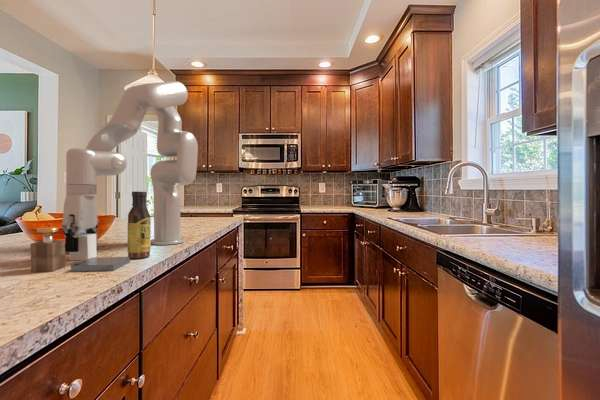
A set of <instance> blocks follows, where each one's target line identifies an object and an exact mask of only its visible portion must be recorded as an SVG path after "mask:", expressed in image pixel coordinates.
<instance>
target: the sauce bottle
mask: <svg viewBox="0 0 600 400" xmlns="http://www.w3.org/2000/svg"><path fill="white" fill-rule="evenodd" d="M147 196H148V195H147V191H138V190H137V191H131V197H132V204H131V205H132V206H131V208H130V211H129V212H128V215H127V253H128V254H127V257H130V260H132V259H133V260H134V259H135V260H136V259H145V258H146V259H147V258H149V257H150V255H151V249H152V247H151V245H152V244H151V240H152V239H151V237H152V236H151V235H152V233H151V231H152V230H151V221H152V220H151V215H150V212H149V209H148V207H147Z"/></svg>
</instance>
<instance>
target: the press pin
mask: <svg viewBox="0 0 600 400" xmlns="http://www.w3.org/2000/svg"><path fill="white" fill-rule="evenodd" d="M59 229H60V227H57V226H55V227H54V226H50V227H38V228H36V233H37V234H42V241H43V243H51V242H53V241H54V233H57V232H58V233H59V231H60V230H59Z"/></svg>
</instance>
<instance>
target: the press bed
mask: <svg viewBox="0 0 600 400" xmlns="http://www.w3.org/2000/svg"><path fill="white" fill-rule="evenodd" d="M130 263H131V258H130V257H128V256H109V257H106V256H104V257H103V256H100V257H98V256H97V257H92V258H90V259H87V260H81V261H79V262H76V263H74V264H72V265H70V272H71V271H76V272H109V271H110V272H112V271H116V270H117V269H119V268H121V267H124V266H125V265H128V264H130Z"/></svg>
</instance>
